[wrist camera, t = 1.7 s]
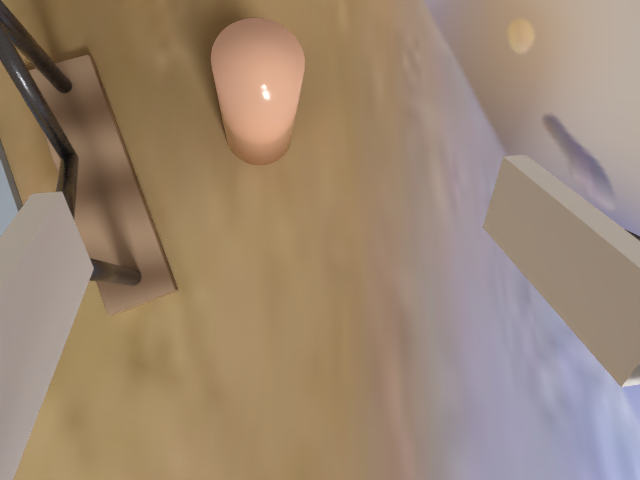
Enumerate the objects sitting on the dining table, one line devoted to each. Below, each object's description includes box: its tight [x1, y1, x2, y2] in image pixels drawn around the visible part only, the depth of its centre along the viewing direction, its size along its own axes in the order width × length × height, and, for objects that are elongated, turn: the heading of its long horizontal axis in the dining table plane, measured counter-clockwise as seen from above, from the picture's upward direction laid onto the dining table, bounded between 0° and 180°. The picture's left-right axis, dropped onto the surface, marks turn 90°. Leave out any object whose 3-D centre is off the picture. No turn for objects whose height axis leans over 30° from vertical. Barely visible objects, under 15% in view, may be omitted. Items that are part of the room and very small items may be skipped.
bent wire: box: [0, 0, 142, 286], centre depth 26 cm, size 17×1×12 cm, turn 22°
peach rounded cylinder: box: [211, 18, 305, 165], centre depth 30 cm, size 6×6×11 cm
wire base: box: [29, 54, 178, 316], centre depth 32 cm, size 20×5×1 cm, turn 22°
